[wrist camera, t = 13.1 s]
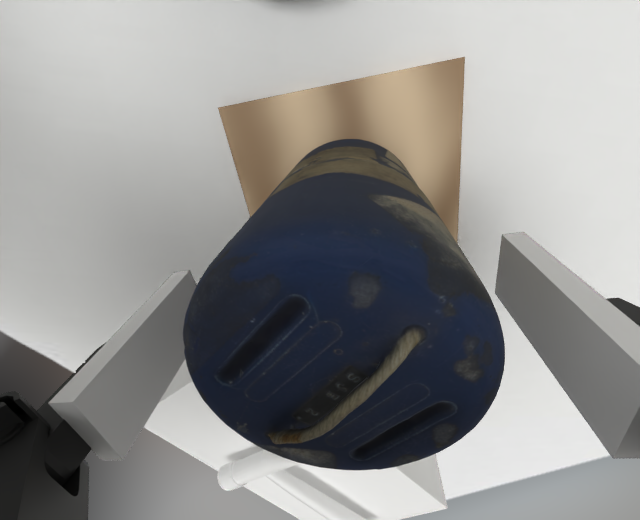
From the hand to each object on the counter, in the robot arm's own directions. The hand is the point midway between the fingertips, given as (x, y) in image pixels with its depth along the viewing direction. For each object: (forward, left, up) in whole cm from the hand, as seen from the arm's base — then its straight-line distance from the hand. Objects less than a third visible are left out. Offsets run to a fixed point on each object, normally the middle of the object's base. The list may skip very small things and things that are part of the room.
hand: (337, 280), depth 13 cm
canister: (0, 0, -12) cm, 12 cm away
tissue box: (-7, -20, -12) cm, 25 cm away
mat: (0, 0, -12) cm, 12 cm away
